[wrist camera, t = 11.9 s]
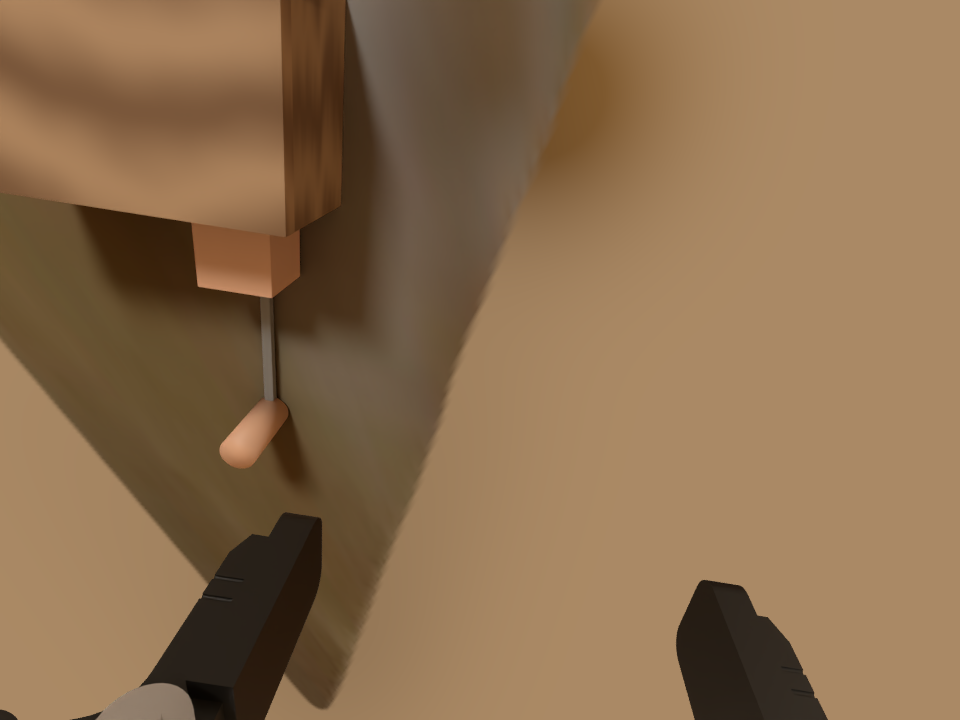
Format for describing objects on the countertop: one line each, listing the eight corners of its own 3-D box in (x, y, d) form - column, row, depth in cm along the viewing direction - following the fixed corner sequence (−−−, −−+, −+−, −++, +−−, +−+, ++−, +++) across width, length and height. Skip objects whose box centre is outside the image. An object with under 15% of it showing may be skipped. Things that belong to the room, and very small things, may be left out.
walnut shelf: (11, -57, 31) (-181, -118, 22) (345, -5, 31) (279, -46, 22) (56, 160, 36) (-86, 178, 28) (341, 205, 36) (285, 237, 28)
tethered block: (229, 197, 36) (178, 214, 31) (299, 208, 36) (260, 227, 31) (244, 419, 44) (206, 463, 39) (301, 428, 44) (271, 473, 39)
